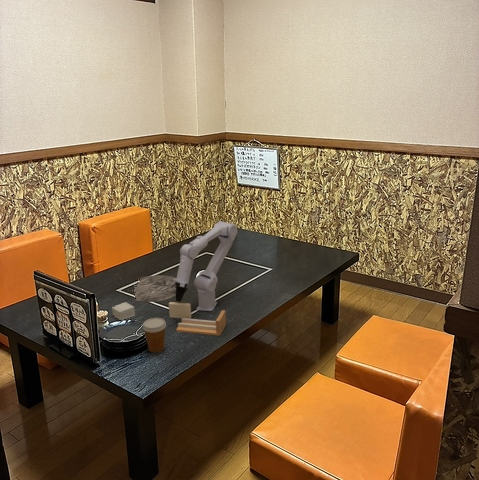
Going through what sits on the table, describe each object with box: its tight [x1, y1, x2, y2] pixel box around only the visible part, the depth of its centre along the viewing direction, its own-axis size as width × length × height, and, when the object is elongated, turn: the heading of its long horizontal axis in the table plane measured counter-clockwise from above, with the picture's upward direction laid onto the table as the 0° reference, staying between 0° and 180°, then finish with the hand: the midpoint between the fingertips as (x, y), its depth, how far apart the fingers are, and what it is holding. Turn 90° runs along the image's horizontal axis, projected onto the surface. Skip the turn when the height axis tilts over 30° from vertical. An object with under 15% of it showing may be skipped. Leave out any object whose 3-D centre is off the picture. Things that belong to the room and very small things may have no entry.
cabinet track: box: [175, 310, 227, 336], centre depth 208 cm, size 10×20×7 cm, turn 76°
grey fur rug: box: [132, 274, 179, 303], centre depth 253 cm, size 33×35×1 cm
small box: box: [111, 301, 136, 321], centre depth 222 cm, size 8×8×5 cm
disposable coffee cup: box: [142, 317, 167, 353], centre depth 192 cm, size 10×10×12 cm
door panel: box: [168, 301, 192, 319], centre depth 219 cm, size 2×10×7 cm, turn 76°
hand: (178, 299), depth 213 cm, fingers open, 7 cm apart
